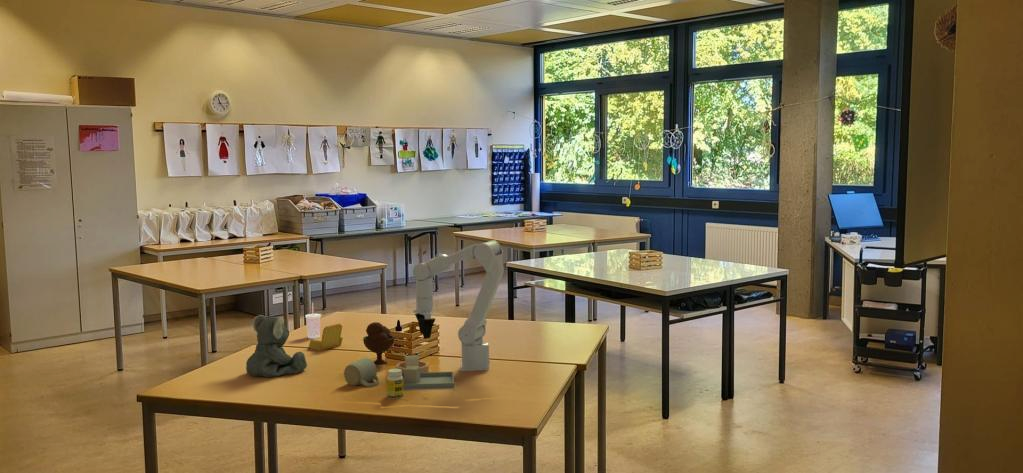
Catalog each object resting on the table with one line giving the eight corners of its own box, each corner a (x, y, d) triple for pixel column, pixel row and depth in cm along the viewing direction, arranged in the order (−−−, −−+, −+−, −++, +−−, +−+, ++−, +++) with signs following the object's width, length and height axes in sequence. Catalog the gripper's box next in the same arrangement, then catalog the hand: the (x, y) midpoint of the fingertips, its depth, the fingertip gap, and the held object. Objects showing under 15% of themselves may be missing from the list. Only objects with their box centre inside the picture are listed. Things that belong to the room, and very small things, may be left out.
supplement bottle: (396, 401, 231) (395, 373, 230) (383, 398, 234) (383, 371, 233) (406, 396, 235) (406, 369, 234) (394, 394, 238) (393, 367, 237)
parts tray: (453, 375, 258) (453, 369, 258) (454, 390, 241) (454, 384, 241) (401, 376, 257) (401, 371, 257) (397, 392, 240) (397, 386, 240)
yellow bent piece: (328, 343, 305) (327, 319, 304) (345, 346, 300) (344, 322, 299) (307, 348, 297) (306, 324, 296) (323, 351, 291) (323, 327, 290)
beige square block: (420, 381, 249) (420, 366, 249) (416, 385, 245) (416, 369, 245) (408, 381, 250) (407, 365, 249) (404, 384, 246) (403, 369, 245)
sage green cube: (417, 369, 263) (416, 355, 262) (418, 372, 259) (418, 358, 259) (405, 370, 262) (404, 356, 261) (406, 373, 258) (406, 358, 257)
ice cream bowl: (389, 369, 266) (388, 325, 265) (358, 367, 268) (357, 324, 267) (400, 361, 276) (399, 319, 275) (370, 359, 279) (369, 318, 277)
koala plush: (310, 371, 264) (308, 314, 262) (261, 382, 251) (259, 322, 249) (283, 362, 276) (281, 307, 274) (235, 373, 263) (232, 315, 261)
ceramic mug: (342, 385, 248) (341, 361, 247) (359, 378, 255) (359, 355, 254) (367, 390, 242) (367, 366, 241) (385, 384, 249) (384, 360, 248)
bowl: (429, 368, 266) (428, 360, 266) (428, 377, 256) (428, 368, 255) (397, 369, 265) (397, 361, 265) (395, 378, 255) (395, 369, 254)
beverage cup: (303, 338, 312) (302, 304, 311) (309, 335, 318) (308, 301, 317) (317, 339, 311) (316, 304, 310) (324, 335, 317) (322, 301, 316)
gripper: (410, 294, 276) (411, 332, 278) (415, 301, 262) (416, 341, 264) (430, 293, 278) (430, 330, 279) (436, 300, 264) (437, 339, 265)
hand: (425, 335), depth 272 cm, fingers open, 7 cm apart
